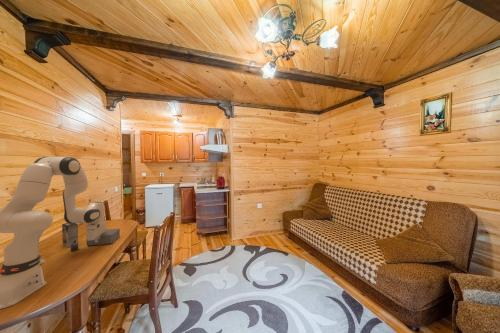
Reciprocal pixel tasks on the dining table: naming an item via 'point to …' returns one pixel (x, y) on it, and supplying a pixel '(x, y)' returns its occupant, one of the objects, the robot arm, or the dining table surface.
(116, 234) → the housing
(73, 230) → the coffee box
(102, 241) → the tray
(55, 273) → the dining table surface
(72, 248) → the grey rounded piece
